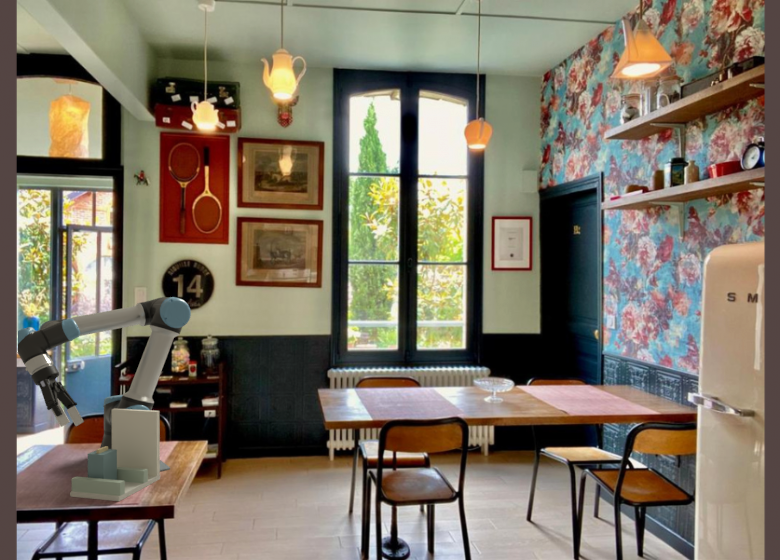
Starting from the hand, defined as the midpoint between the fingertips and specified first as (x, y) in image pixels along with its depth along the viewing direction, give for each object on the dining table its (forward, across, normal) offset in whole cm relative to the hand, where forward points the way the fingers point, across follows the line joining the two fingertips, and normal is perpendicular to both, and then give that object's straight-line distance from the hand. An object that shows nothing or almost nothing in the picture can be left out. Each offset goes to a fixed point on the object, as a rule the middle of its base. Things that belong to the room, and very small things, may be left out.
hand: (73, 424), depth 185 cm
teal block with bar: (+23, +2, -1) cm, 23 cm away
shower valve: (+26, -16, +9) cm, 32 cm away
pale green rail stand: (+26, +1, +2) cm, 26 cm away
